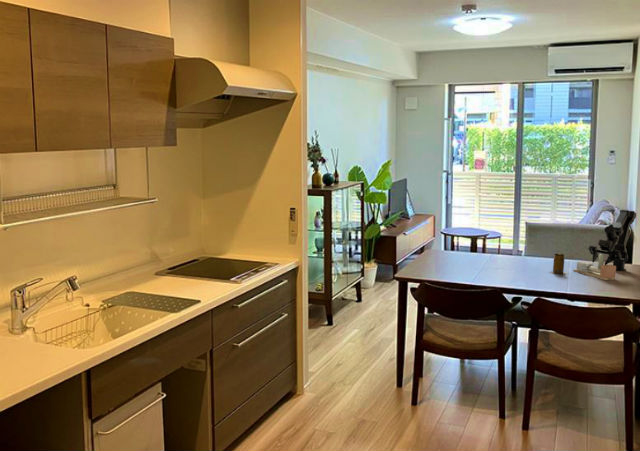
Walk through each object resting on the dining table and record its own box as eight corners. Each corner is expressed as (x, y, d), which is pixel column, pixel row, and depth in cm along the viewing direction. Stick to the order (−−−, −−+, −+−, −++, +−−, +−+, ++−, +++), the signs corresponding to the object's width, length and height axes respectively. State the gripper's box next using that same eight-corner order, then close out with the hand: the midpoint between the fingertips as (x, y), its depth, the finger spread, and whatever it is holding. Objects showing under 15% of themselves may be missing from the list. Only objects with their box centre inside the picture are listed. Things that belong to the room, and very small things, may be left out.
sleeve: (582, 269, 391) (583, 261, 390) (592, 271, 384) (593, 263, 383) (576, 269, 389) (577, 261, 388) (586, 272, 382) (587, 264, 381)
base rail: (581, 270, 393) (582, 268, 393) (614, 279, 370) (615, 277, 369) (573, 270, 390) (573, 269, 390) (605, 280, 367) (606, 278, 367)
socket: (609, 275, 374) (610, 264, 373) (615, 277, 369) (616, 266, 368) (600, 276, 371) (601, 265, 370) (606, 278, 367) (607, 266, 366)
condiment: (556, 271, 389) (557, 252, 387) (568, 273, 383) (570, 254, 381) (549, 272, 385) (551, 253, 383) (562, 275, 378) (564, 255, 376)
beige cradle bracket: (590, 270, 384) (592, 251, 382) (610, 275, 370) (612, 256, 369) (586, 270, 383) (588, 251, 381) (606, 276, 369) (607, 256, 367)
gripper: (591, 232, 382) (579, 252, 377) (621, 237, 367) (610, 258, 362) (596, 243, 388) (585, 263, 383) (626, 249, 373) (615, 269, 369)
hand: (598, 263), depth 374 cm, fingers open, 7 cm apart
